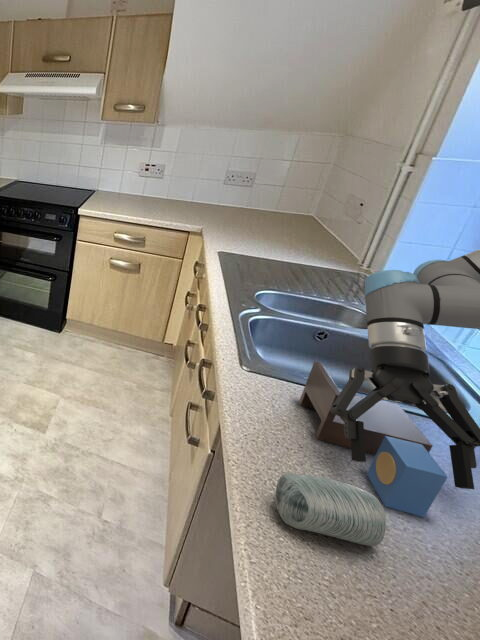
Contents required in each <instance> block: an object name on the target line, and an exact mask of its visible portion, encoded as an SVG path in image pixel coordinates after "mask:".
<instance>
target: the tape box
mask: <svg viewBox="0 0 480 640" xmlns="http://www.w3.org/2000/svg"><path fill="white" fill-rule="evenodd" d="M366 476H367V478H368V480H369V481H370V482H371V485H372V487H373V489H374V490H375V492H376V493H377V495H378V497H379V498H380V500H381V502H382V504H383V505H384V507H387V508H390V509H393V510H397V511H400V512H403V513H406V514H410V515H414V516H417V517H421V518H425V516H426V514H427V513H428V511H429V510H430V508H431V506H432V504H433V503H434V501H435V499H436V497H438V495H439V493H440V491H441V490H442V488H443V486H444V485H445V482H446V481H447V479H448V475H447V474H446V473H445V471H444V470H443V469H442V468H441V466H440V465H439V464H438V463H437V461H436V460H435V459H434V457H433V456H432V455H431V453H430V452H429V453H428V451H427V450H426V449H425V448H424V446H423V445H421V444H417V443H413V442H408V441H404V440H400V439H396V438H392V437H388V436H385V437H384V439H383V441H382V443H381V445H380V447H379V449H378V451H377V453H376V454H374V458H373V460H372V461H371V463H370V466H369V467H368V470H367V471H366Z"/></svg>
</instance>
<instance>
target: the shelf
mask: <svg viewBox="0 0 480 640" xmlns="http://www.w3.org/2000/svg"><path fill="white" fill-rule="evenodd" d="M340 393H341V390H340V389H339V387H338V386H337V384H336V383H335V382H334V380H333V379H332V376H330V374H329V373H328V370H327V369H326V368H325V367H324V365H323V363H322V362H320V361H313V363H312V366H311V369H310V372H309V375H308V377H307V380H306V382H305V384H304V388H303V390H302V392H301V395H300V397H299V400H298V403H299V405H300V406H302V407H305V408H309V409H314V410H315V411H316V413H317V415H318V417H319V419H320V423H319V425H318V429H317V431H316V433H315V438H316V440H318V441H322V442H325V443H330V444H334V445H337V446H342V447H346V448H349V449H351V439H347V438H346V437H345V435H344V421H343V420H341V419H340V416H338V415H336V414H332V413H331V412H330V408H331V407H332V405H333V404H334V402H335V401H336V399H337V397H338V396H339V394H340ZM364 397H365V396H362V395H358V394H356V395H355V396H354V398H353V399H352V401H351V402H350V404H349V406H348V407H347V409H346V410H347V411H348V410H349V409H350V408H352V407H353V406H354V405H355V404H357V403H358V402H359V401H361V400H362V399H363V398H364ZM356 421H361V422H363V424H364V439H365V453H369V454H372V455H376V453H377V451H378V449H379V447H380V445H381V443H382V441H383V439H384V437H385V436H388V437H392V438H396V439H400V440H404V441H408V442H413V443H417V444H421V445H423V446H424V448H425V449H426V450H427V451H428V453H429V454H430V452H431V449H432V448H433V444H432V443H431V441H430V440H429V439H428V438H427V437H426V436H425V435H424V433H423V432H422V431H421V429H419V427H418V426H417V425H416V423H415V422H414V421H413V420H412V419H411V417H410V416H409V415H408V414H407V413H406V411H405V410H404V409H403V407H402V406H401V405H400V404H398V403H394V402H390V401H385V400H382V399H381V400H380V401H379V402H378V403H376V404H375V405H374V406H373V407H371V408H370V409H369V410H368V411H366V412H365V413H364V414H362V415H361V416H360V417H359V418H357V419H356Z"/></svg>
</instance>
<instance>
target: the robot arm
mask: <svg viewBox="0 0 480 640" xmlns="http://www.w3.org/2000/svg"><path fill="white" fill-rule="evenodd" d="M363 298H364V302H365V303H364V305H365V312H366V313H365V314H366V325H367V340H368V341H367V343H368V347H369V348H370V350H368V352H369V353H368V354H369V355H368V356H369V366H370V368H371V370H365V368H364V367H362V366H356V367H355V368H352V369H350V370H349V373H348V381H347V382H346V383H345V385H344V387H343V388H342V390H340V392H341V393H340V394H339V396H338V397H337V399H336V401H335V402H334V404H333V405H332V407H331V408H330V412H331V413H332V414H336V415H338V416H340V419H341V420H343V421H344V435H345V437H346V438H347V439H351V448H350V452H351V453H350V454H351V461H352V462H357V463H361V462H362V463H363V462H367V456H366V453H367V452H365V439H364V424H363V422H361V421H356V419H357V418H359V417H360V416H361V415H362V414H364V413H365V412H366V411H368V410H369V409H370V408H371V407H373V406H374V405H375V404H376V403H378V402H379V401H380V400H381V401H382V400H383V399H385V398H386V399H387V401H391V402H400V403H402V404H406V405H414V406H415V407H416V408H417V409H419V410H421V411H423V413H424V414H425V415H426V416H427V417H428V418H429V419H430V420H431V421H432V422H433V423H434V424H435V425H436V426H437V427H438V428H439V430H441V431H442V432H443V433H444V434H445V435H446V436H447V437H448V438H449V439H450V441H452V442H453V443H454V444H449V445H448V446H449V453H450V454H449V455H450V460H451V468H452V475H453V481H454V487H455V488H457V489H464V490H475V484H474V478H473V472H472V471H473V470H472V469H477V466H478V465H477V458H476V451H475V449H476V448H478V447H480V427H479V425H478V423H477V422H476V420H475V419H474V417H473V416H472V415H471V414H470V412H469V411H468V409H467V408H466V407H465V405H464V404H463V403H462V401H461V400H460V398H459V396H458V392H457V390H456V389H457V388H456V387H455V386H454V385H453V384H450V383H448V384H435V383H432V382H431V380H430V372H431V370H430V364H429V363H430V362H429V356H428V354H427V353H426V351H427V342H426V336H425V326H424V325H429V326H439V327H440V326H441V327H452V328H462V329H464V328H465V329H473V330H480V249H477V250H474V251H472V252H468V253H467V254H464V255H462V256H457V257H456V258H453V259H449V260H446V259H431V260H427V261H425V262H423V263H420V264H418V266H417V267H415V269H414V271H413V273H412V272H411V271H403V270H400V269H388V270H387V269H386V270H380V271H376V272H373V273H371V274H369V275H367V276H366V278H365V280H364V296H363ZM368 380H369V381H370V382H371V383H372V384H373V386H374V389H372V390H371V391H370V392H368V393H367V395H366V396H363V397H364V398H363V399H362V400H361V401H359V402H358V403H357V404H355V405H354V406H353V407H352V408H350V409H349V410H348V411H347V410H346V409H347V407H348V406H349V404H350V402H351V401H352V399H353V398H354V396H355V395H357V393H358V392H359V390H360V389H361V387H362V386H363V383H364V382H367V381H368ZM432 392H433V394H434V396H432V395H431V393H432ZM435 397H437V398H438V400H439V402H440V403H441V405H442V406H443V408H444V409H443V408H442V407H441V406H440V405H439V402H438V401H437V400H436V399H435ZM445 411H446V412H445Z"/></svg>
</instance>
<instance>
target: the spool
mask: <svg viewBox="0 0 480 640" xmlns="http://www.w3.org/2000/svg"><path fill="white" fill-rule="evenodd" d="M275 505H276V509H277V511H278V512H277V513H278V514H279V516H280V518H281V520H282V521H283V522H284V523H285V524H286V525H288V526H290V527H293V528H294V529H297V530H301V531H303V530H304V531H308V532H312V533H316V534H320V535H324V536H328V537H331V538H332V537H333V538H336V539H338V540H342V541H346V542H350V543H355V544H358V545H362V546H368V547H374V546H378V545H379V544H381V543H382V542H383V540H384V538H385V533H386V530H387V529H386V522H387V521H386V511H385V509H384V507H383V505H382V503H381V502H380V501H379V499H378V498H377V497H376V496H375V495H373V494H372V493H370V492H369V491H366V490H365V489H362V488H360V487H358V486H355V485H352V484H350V483H347V482H344V481H343V482H342V481H339V480H336V479H332V478H328V477H322V476H315V475H310V474H309V475H308V474H301V473H290V472H289V473H288V472H287V473H284V474H282V475H281V476H280V477H279V478H278V480H277V484H276V487H275Z"/></svg>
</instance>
